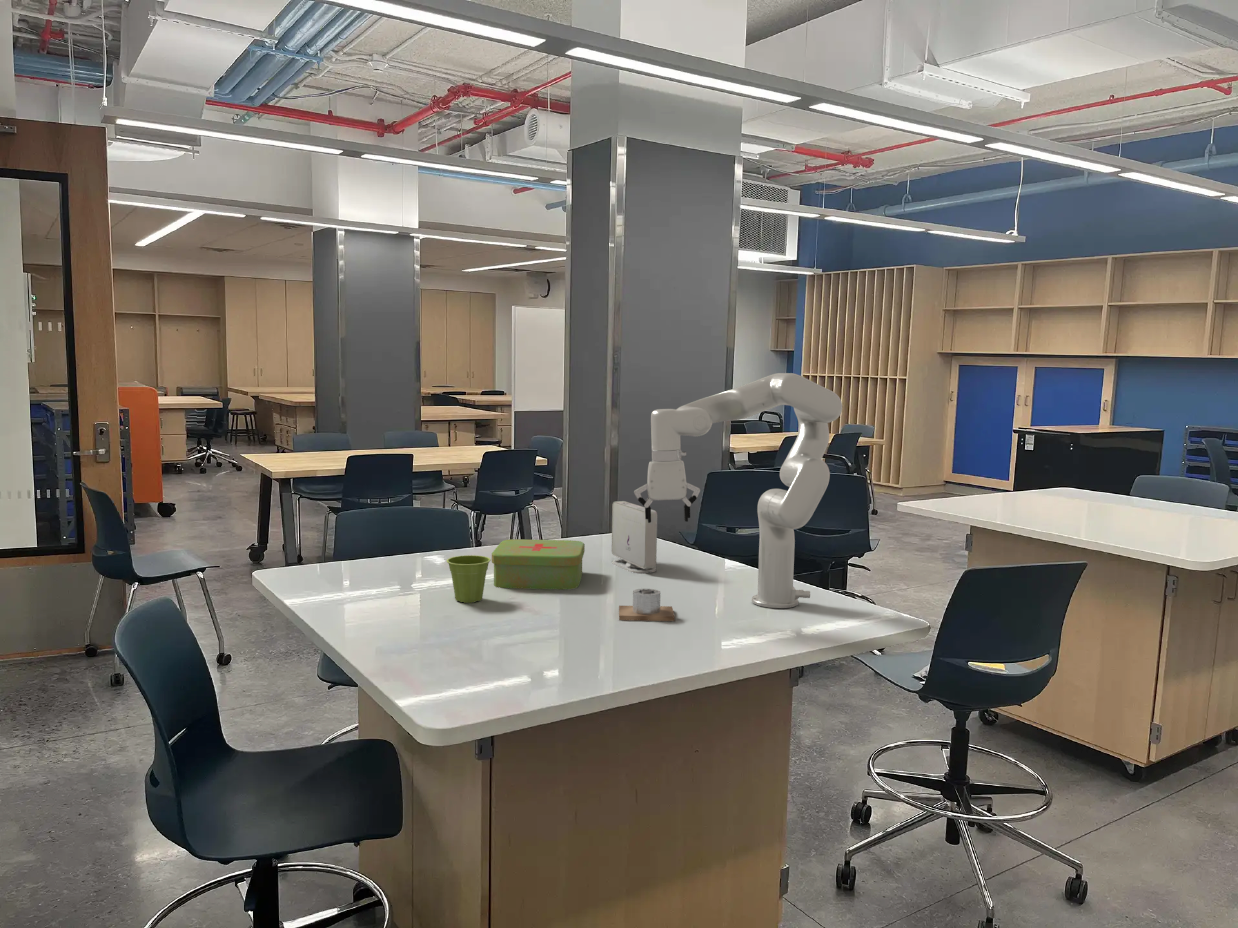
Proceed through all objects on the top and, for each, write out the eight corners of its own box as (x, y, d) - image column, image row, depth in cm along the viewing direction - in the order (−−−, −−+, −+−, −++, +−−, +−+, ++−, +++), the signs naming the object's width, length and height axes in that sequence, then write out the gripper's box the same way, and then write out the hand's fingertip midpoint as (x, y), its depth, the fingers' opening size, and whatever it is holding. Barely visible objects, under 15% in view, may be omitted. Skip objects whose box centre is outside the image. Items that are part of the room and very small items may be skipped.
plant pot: (441, 597, 247) (441, 557, 246) (482, 593, 252) (482, 553, 251) (453, 607, 237) (453, 565, 235) (496, 602, 242) (496, 561, 241)
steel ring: (659, 607, 235) (659, 588, 235) (660, 614, 228) (661, 595, 228) (632, 607, 235) (632, 588, 235) (633, 614, 228) (633, 594, 228)
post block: (671, 610, 237) (672, 587, 236) (674, 620, 227) (675, 596, 226) (618, 609, 237) (619, 586, 236) (619, 620, 227) (619, 596, 226)
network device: (605, 560, 301) (606, 501, 299) (628, 558, 305) (629, 500, 303) (638, 575, 278) (640, 512, 276) (663, 573, 282) (665, 510, 280)
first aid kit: (579, 591, 258) (580, 556, 257) (489, 589, 259) (489, 554, 258) (584, 571, 284) (585, 540, 283) (502, 569, 285) (502, 538, 284)
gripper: (697, 454, 237) (699, 517, 239) (632, 456, 237) (634, 520, 239) (701, 457, 230) (702, 522, 232) (633, 459, 229) (635, 524, 231)
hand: (667, 521), depth 235 cm, fingers open, 9 cm apart
